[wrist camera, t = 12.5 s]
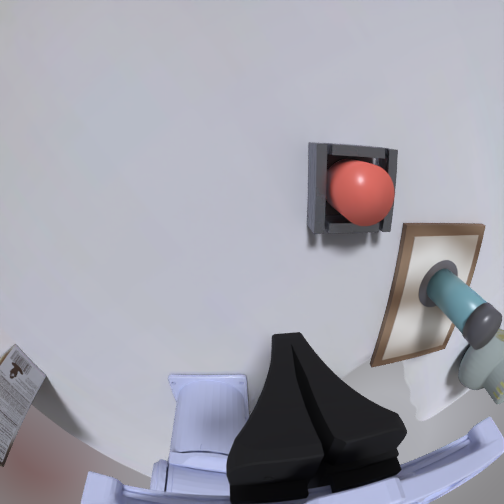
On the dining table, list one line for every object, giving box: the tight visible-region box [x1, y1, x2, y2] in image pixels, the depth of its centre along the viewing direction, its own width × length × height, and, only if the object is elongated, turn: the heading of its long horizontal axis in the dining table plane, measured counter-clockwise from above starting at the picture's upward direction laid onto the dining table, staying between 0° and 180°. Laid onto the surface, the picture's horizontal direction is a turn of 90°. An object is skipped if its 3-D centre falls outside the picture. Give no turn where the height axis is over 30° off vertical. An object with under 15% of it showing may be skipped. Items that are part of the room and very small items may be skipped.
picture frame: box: [370, 223, 485, 367], centre depth 24 cm, size 16×11×1 cm
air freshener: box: [459, 328, 504, 404], centre depth 25 cm, size 11×8×10 cm
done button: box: [326, 159, 395, 226], centre depth 18 cm, size 4×4×3 cm
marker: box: [427, 269, 502, 350], centre depth 19 cm, size 4×4×8 cm
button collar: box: [307, 142, 398, 234], centre depth 18 cm, size 6×6×2 cm
